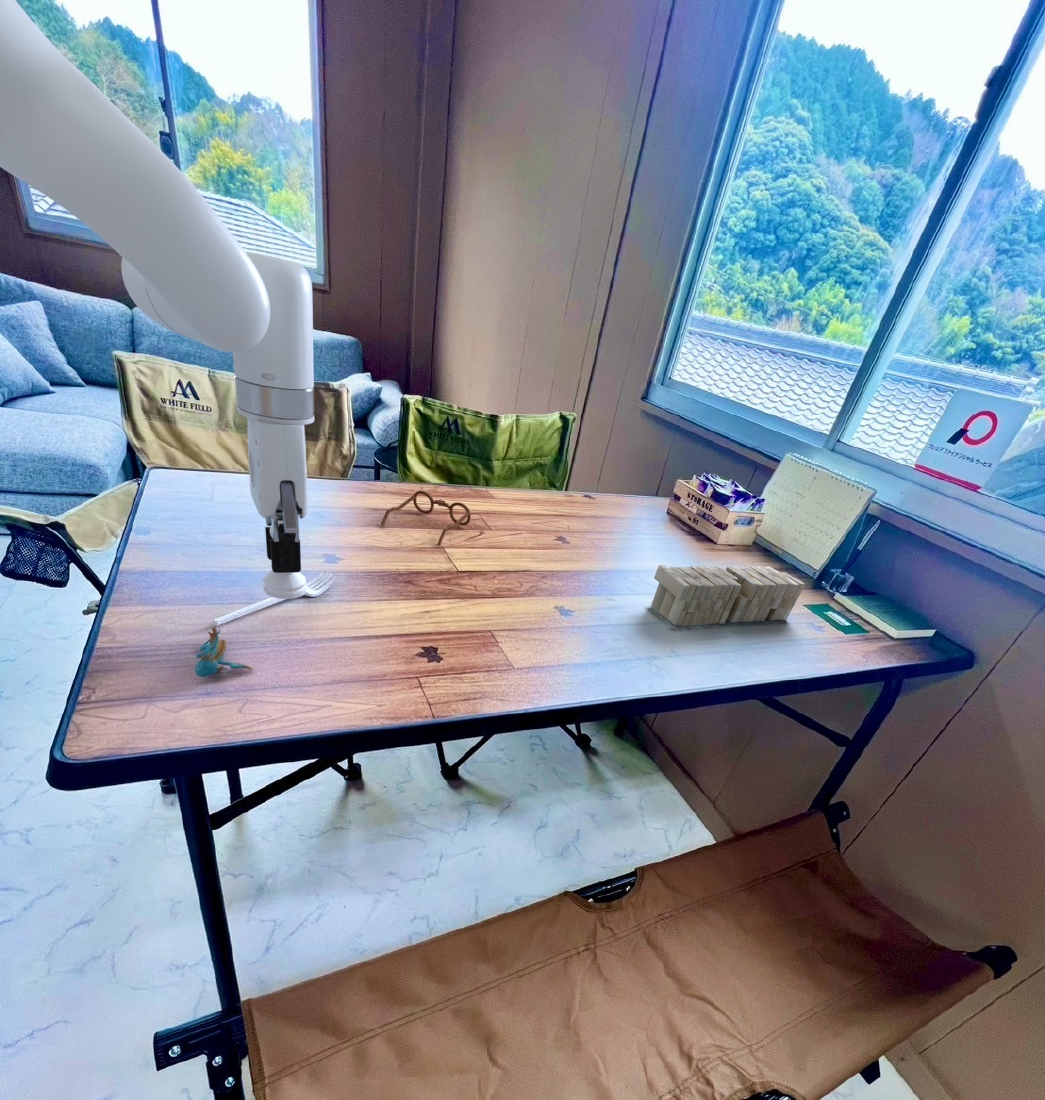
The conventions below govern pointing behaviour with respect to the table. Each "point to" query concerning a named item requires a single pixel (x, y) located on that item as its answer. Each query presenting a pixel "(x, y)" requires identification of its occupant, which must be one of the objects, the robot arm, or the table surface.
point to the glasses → (432, 510)
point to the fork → (310, 591)
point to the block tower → (724, 594)
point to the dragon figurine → (214, 657)
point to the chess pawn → (284, 582)
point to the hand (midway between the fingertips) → (283, 563)
